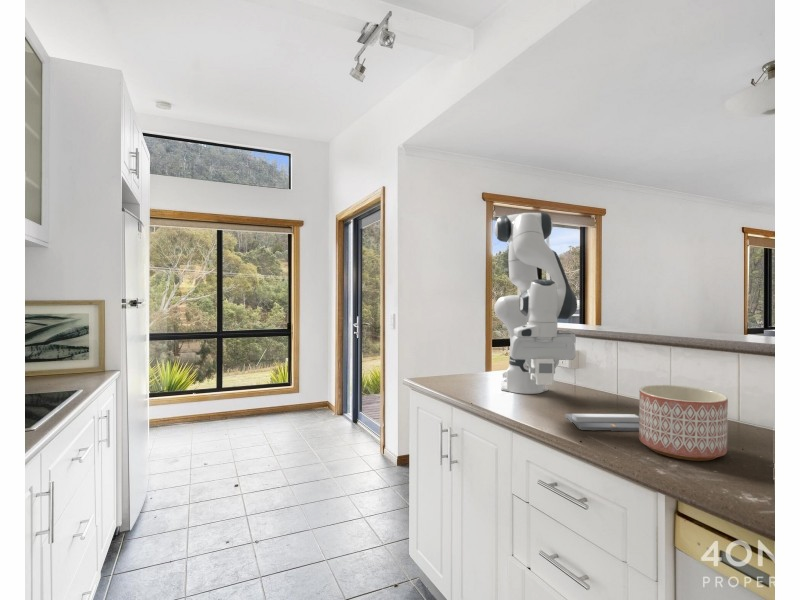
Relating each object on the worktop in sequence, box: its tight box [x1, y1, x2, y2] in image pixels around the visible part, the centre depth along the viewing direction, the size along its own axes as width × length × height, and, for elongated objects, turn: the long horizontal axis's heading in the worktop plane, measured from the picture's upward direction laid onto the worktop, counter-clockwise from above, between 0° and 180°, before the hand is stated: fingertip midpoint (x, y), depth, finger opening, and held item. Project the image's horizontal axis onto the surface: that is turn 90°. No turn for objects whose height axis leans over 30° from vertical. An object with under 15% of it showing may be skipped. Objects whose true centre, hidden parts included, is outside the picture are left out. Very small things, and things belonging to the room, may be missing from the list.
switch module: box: [531, 358, 555, 386], centre depth 144 cm, size 8×5×8 cm, turn 178°
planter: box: [638, 384, 729, 462], centre depth 116 cm, size 19×19×15 cm
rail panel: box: [564, 413, 639, 432], centre depth 138 cm, size 14×20×2 cm
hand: (541, 373), depth 144 cm, fingers closed on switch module, 5 cm apart
